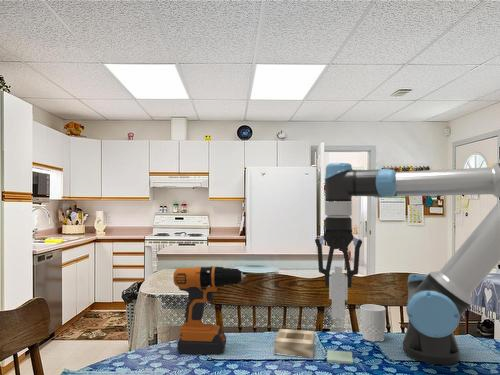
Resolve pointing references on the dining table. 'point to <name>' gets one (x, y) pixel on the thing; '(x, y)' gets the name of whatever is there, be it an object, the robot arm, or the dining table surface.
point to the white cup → (373, 322)
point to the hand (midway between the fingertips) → (338, 298)
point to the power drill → (202, 307)
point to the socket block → (295, 342)
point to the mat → (339, 357)
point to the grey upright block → (338, 293)
